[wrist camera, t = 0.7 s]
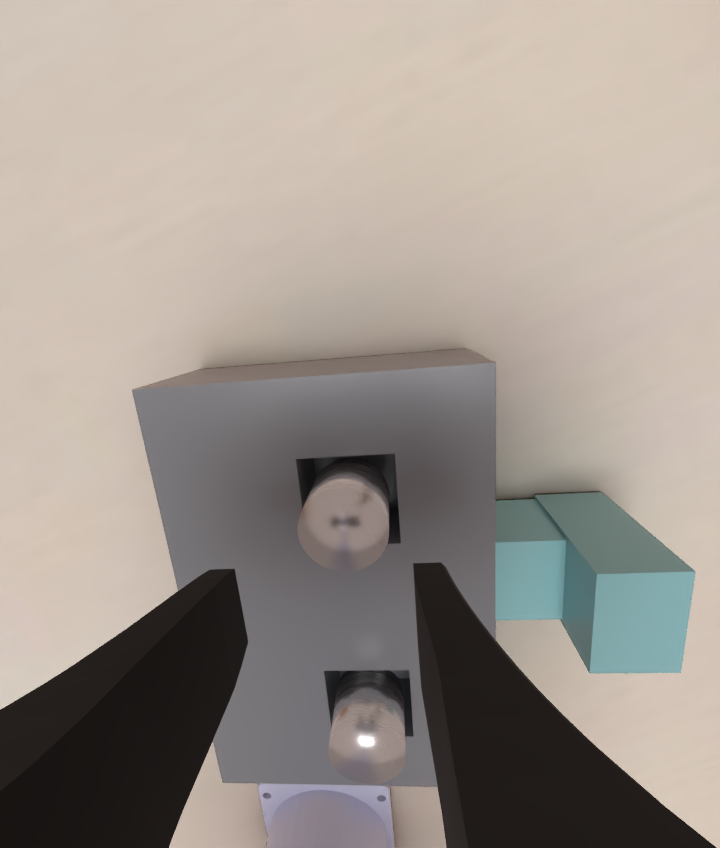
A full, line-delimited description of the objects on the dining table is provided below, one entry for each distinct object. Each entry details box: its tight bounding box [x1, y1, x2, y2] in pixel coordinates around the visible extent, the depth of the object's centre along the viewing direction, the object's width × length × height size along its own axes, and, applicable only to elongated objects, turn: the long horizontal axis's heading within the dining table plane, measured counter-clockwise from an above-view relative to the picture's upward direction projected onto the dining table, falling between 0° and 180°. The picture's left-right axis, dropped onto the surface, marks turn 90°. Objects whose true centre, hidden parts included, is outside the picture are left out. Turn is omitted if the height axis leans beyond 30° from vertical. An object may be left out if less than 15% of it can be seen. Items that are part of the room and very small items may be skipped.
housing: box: [132, 348, 496, 787], centre depth 18 cm, size 18×12×5 cm, turn 5°
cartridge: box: [495, 492, 695, 673], centre depth 17 cm, size 4×15×6 cm, turn 95°
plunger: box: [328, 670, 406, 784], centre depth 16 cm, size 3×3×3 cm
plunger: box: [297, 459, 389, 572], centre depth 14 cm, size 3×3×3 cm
